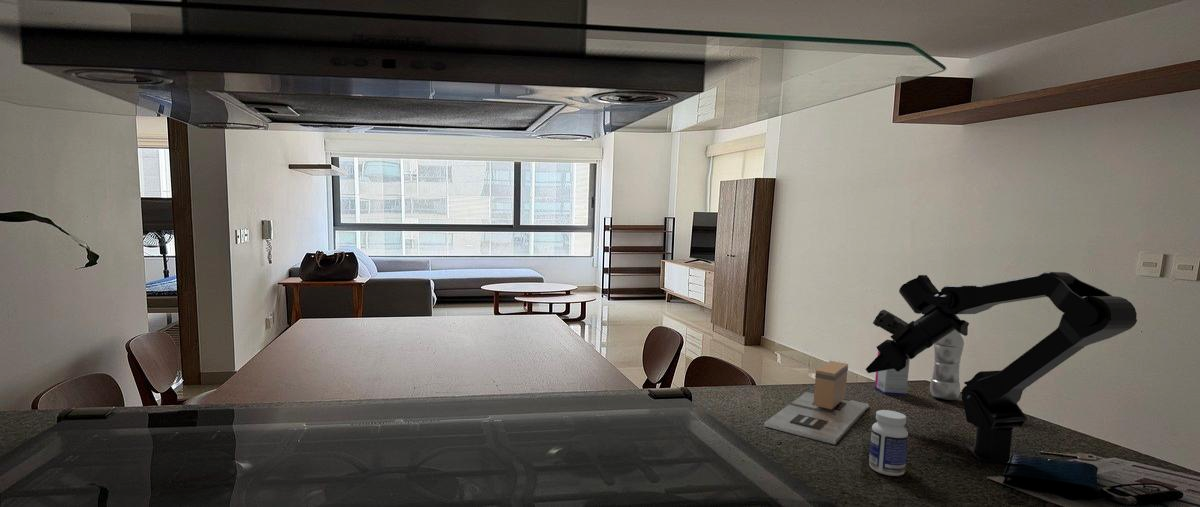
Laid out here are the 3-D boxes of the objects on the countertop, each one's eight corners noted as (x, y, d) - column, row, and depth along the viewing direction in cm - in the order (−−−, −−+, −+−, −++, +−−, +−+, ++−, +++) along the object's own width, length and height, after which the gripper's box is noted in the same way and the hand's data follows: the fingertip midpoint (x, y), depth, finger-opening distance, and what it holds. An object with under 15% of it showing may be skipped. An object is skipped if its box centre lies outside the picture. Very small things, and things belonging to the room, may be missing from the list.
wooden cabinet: (845, 397, 138) (848, 363, 138) (832, 409, 128) (834, 373, 128) (827, 393, 141) (830, 360, 140) (813, 405, 131) (815, 370, 130)
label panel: (868, 407, 136) (868, 402, 136) (834, 444, 112) (835, 439, 112) (807, 393, 144) (807, 389, 144) (764, 426, 120) (764, 421, 120)
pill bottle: (909, 470, 102) (914, 414, 101) (899, 480, 98) (904, 422, 97) (874, 459, 106) (879, 406, 105) (863, 468, 102) (868, 413, 101)
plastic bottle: (965, 403, 143) (972, 323, 142) (937, 402, 143) (944, 321, 142) (949, 395, 149) (957, 318, 148) (923, 394, 149) (930, 316, 148)
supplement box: (907, 395, 147) (911, 351, 146) (883, 394, 147) (887, 349, 147) (896, 388, 153) (899, 345, 152) (873, 387, 153) (877, 344, 152)
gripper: (907, 295, 133) (852, 335, 140) (892, 303, 118) (831, 347, 125) (944, 335, 129) (885, 374, 136) (932, 349, 114) (867, 391, 121)
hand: (867, 371), depth 130 cm, fingers closed
